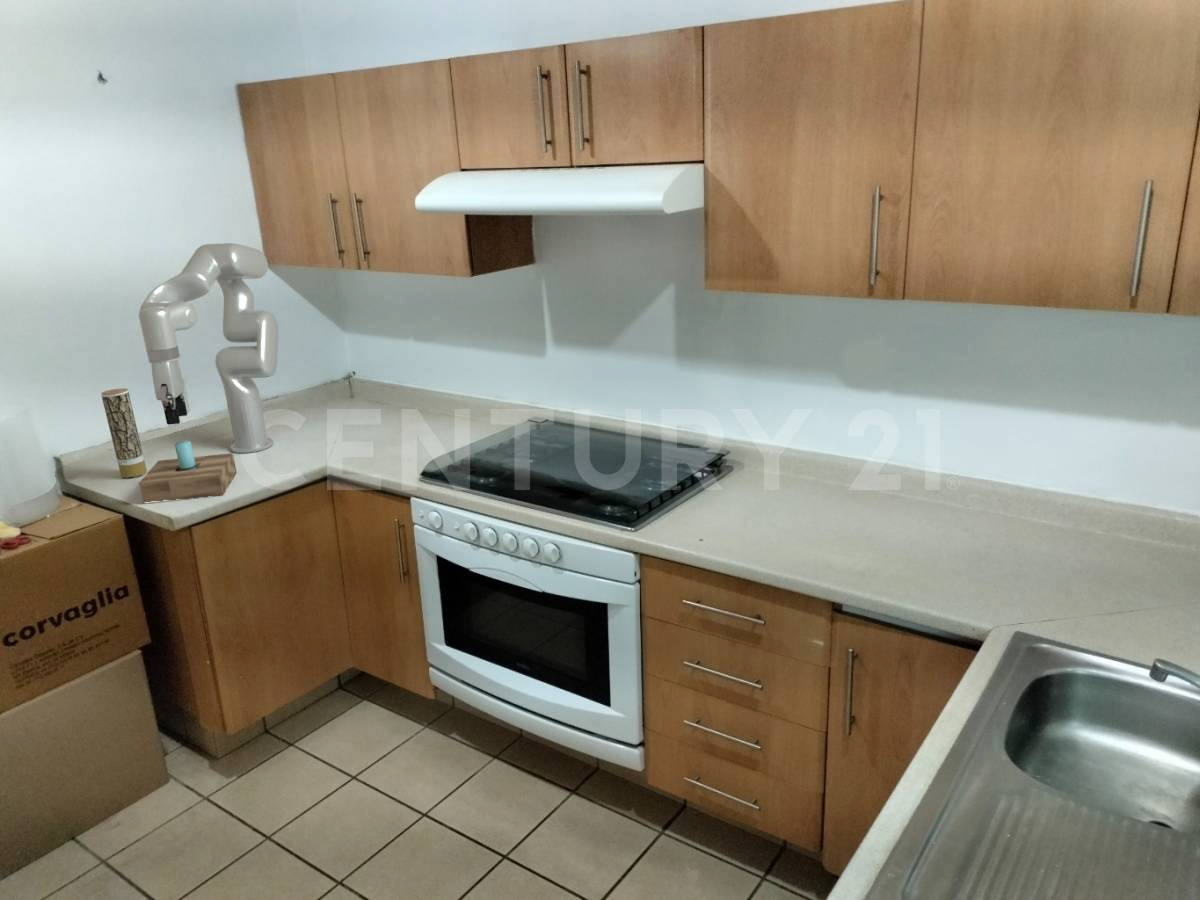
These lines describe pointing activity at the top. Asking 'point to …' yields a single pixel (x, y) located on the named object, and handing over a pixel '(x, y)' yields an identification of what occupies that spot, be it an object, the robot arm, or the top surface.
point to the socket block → (188, 478)
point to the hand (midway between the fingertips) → (177, 419)
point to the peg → (185, 456)
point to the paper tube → (124, 432)
